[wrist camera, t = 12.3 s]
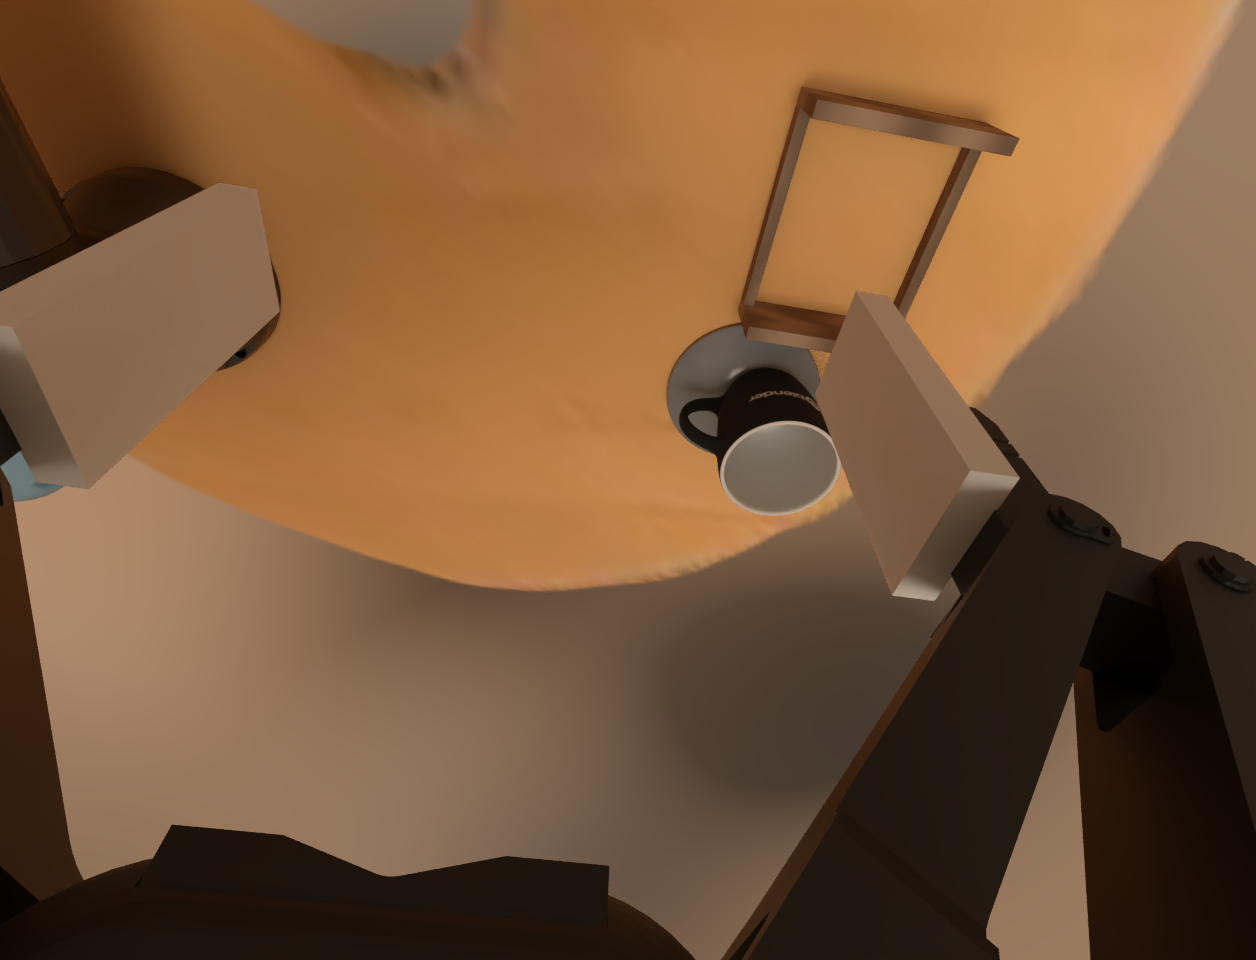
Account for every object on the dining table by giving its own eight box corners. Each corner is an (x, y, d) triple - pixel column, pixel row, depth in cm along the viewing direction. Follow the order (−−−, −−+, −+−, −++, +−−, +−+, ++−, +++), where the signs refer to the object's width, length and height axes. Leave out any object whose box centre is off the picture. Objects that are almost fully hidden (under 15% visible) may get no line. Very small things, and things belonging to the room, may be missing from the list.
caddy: (738, 310, 51) (745, 339, 47) (801, 86, 42) (817, 99, 38) (889, 335, 52) (909, 365, 48) (985, 122, 43) (1019, 138, 39)
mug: (831, 364, 53) (863, 433, 45) (792, 450, 59) (814, 525, 51) (690, 335, 52) (698, 402, 44) (664, 426, 57) (667, 499, 50)
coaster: (654, 442, 59) (654, 445, 59) (684, 310, 51) (684, 313, 51) (790, 462, 60) (791, 466, 60) (841, 336, 52) (842, 339, 52)
